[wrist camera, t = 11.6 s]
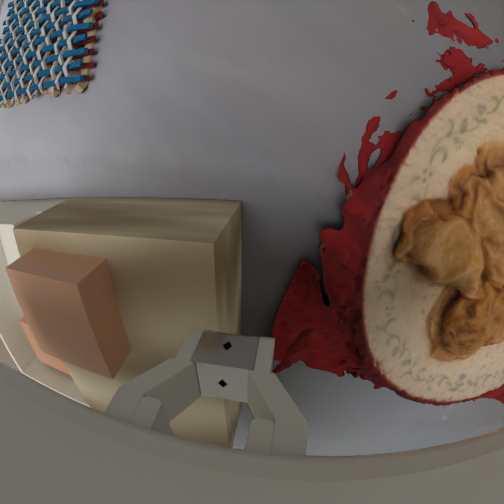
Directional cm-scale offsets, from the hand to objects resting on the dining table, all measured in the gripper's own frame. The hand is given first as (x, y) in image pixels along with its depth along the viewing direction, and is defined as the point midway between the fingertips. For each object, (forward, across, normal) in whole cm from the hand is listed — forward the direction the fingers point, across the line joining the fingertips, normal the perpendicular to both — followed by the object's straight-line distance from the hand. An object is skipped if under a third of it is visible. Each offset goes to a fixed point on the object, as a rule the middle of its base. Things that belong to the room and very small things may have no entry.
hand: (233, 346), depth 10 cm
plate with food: (+7, -16, -2) cm, 18 cm away
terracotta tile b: (+1, +8, 0) cm, 8 cm away
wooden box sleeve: (+6, +6, +4) cm, 10 cm away
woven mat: (+7, +14, -16) cm, 22 cm away
